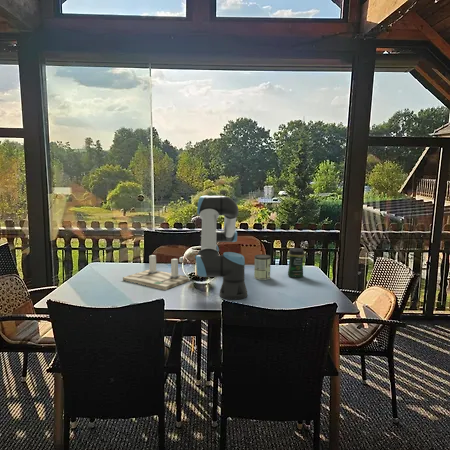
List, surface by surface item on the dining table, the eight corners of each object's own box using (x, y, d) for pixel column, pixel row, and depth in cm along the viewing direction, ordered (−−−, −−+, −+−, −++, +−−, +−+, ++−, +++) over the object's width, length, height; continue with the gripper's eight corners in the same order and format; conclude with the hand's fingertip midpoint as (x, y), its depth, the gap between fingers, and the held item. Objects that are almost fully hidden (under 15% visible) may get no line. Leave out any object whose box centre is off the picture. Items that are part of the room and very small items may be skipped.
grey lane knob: (152, 273, 252) (152, 256, 250) (147, 272, 254) (147, 255, 253) (157, 272, 256) (157, 255, 255) (153, 271, 258) (152, 254, 257)
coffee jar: (289, 278, 254) (290, 249, 252) (287, 274, 262) (287, 247, 259) (304, 278, 255) (305, 249, 252) (301, 274, 262) (302, 247, 260)
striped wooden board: (165, 290, 227) (165, 286, 226) (122, 280, 245) (122, 277, 244) (191, 280, 247) (191, 276, 246) (150, 272, 265) (150, 269, 264)
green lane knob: (174, 278, 243) (174, 260, 241) (169, 277, 245) (169, 259, 243) (179, 276, 247) (179, 259, 245) (174, 275, 249) (174, 258, 247)
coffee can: (254, 275, 260) (254, 254, 258) (270, 275, 259) (270, 254, 257) (253, 279, 250) (254, 257, 248) (270, 280, 249) (270, 258, 247)
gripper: (210, 259, 266) (188, 267, 246) (194, 257, 273) (172, 264, 253) (210, 248, 265) (188, 255, 245) (194, 246, 272) (172, 252, 252)
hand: (180, 260), depth 249 cm, fingers closed
